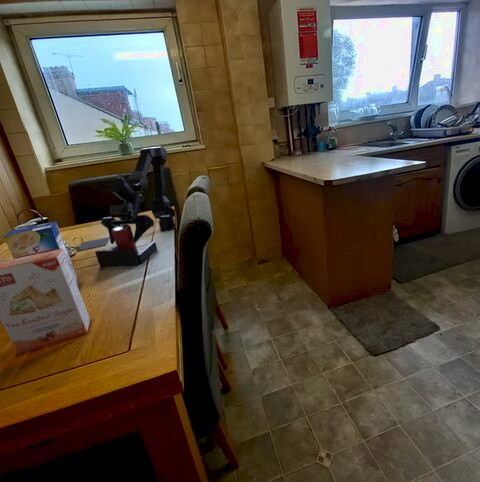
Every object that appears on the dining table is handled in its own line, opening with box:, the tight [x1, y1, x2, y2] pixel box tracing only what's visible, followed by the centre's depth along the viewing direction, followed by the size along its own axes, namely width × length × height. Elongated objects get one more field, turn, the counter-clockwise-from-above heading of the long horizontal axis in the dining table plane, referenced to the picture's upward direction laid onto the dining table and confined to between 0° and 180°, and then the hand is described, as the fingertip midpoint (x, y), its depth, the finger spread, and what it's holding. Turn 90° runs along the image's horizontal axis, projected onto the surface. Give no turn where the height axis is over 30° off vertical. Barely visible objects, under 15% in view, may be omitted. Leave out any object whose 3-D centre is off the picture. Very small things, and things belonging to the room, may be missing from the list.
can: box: [112, 224, 139, 254], centre depth 104 cm, size 6×6×12 cm
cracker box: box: [0, 249, 91, 355], centre depth 63 cm, size 14×6×21 cm, turn 114°
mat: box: [77, 236, 110, 252], centre depth 127 cm, size 11×11×1 cm
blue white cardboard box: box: [3, 220, 80, 287], centre depth 83 cm, size 7×11×22 cm, turn 116°
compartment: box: [94, 241, 158, 268], centre depth 105 cm, size 13×16×7 cm
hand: (123, 243), depth 102 cm, fingers open, 9 cm apart
